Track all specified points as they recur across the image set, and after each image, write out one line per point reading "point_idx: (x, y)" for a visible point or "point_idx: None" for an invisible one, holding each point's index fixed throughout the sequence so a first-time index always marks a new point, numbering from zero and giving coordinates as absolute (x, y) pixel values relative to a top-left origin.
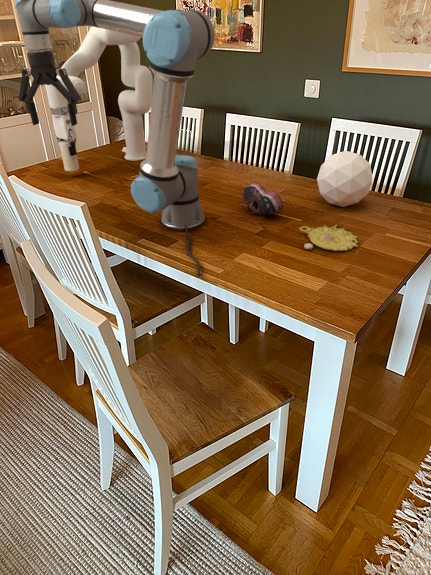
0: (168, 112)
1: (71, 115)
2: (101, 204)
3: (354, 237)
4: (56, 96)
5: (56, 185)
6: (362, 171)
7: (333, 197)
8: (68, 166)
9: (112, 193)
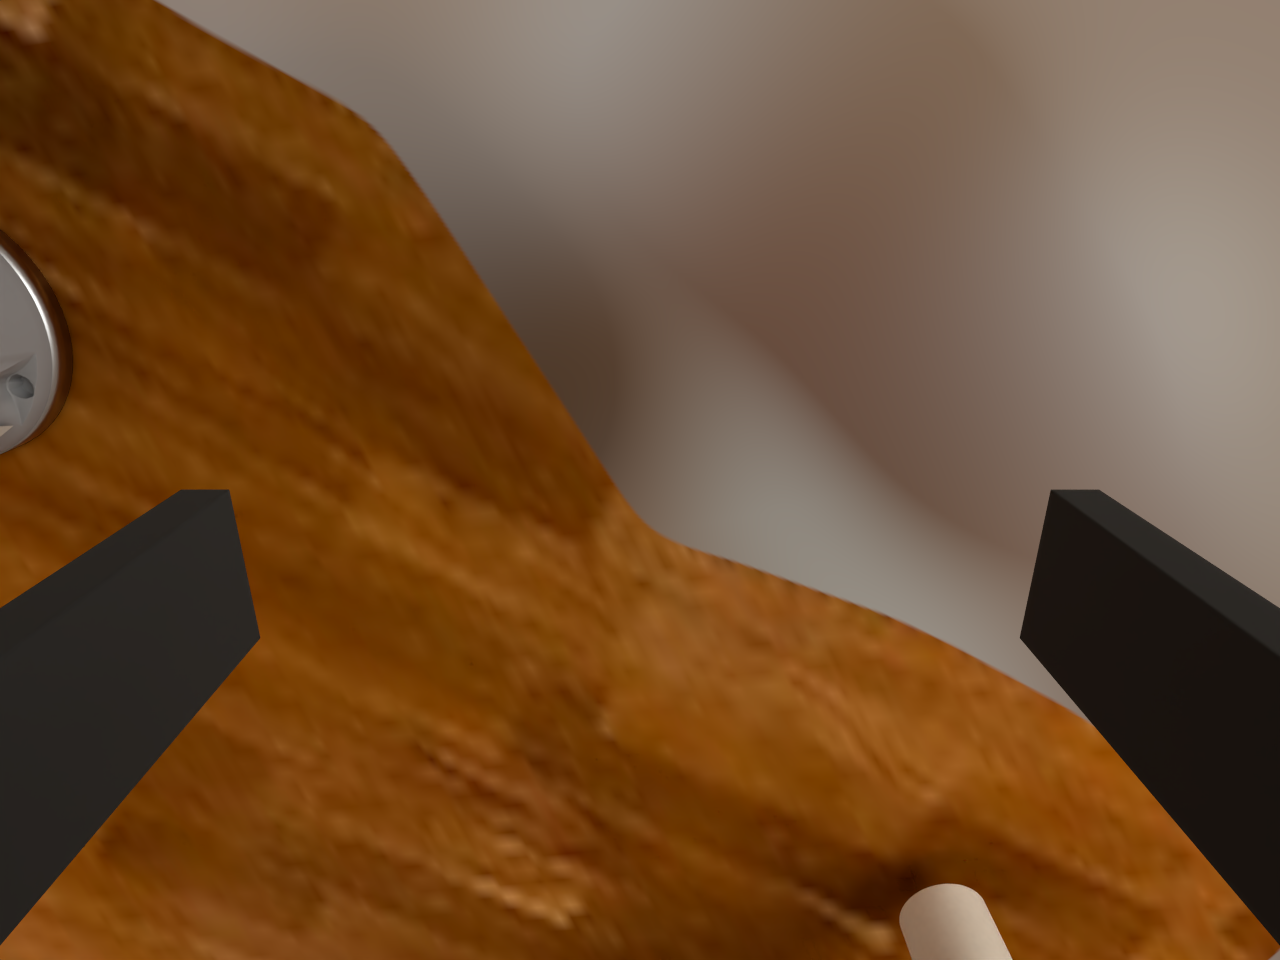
0: None
1: (38, 591)
2: (572, 520)
3: None
4: None
5: (979, 752)
6: None
7: None
8: (955, 910)
9: (582, 678)
